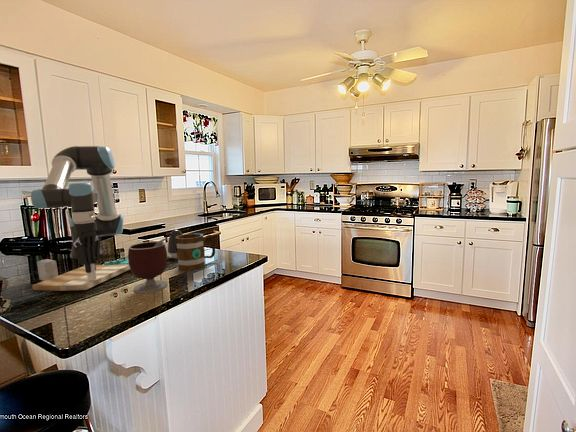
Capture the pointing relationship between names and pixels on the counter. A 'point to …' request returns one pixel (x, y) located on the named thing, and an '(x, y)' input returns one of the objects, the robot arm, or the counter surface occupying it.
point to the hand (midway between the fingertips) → (92, 279)
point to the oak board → (62, 279)
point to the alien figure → (117, 262)
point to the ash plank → (101, 276)
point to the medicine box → (47, 269)
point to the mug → (192, 251)
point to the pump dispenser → (173, 243)
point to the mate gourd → (148, 264)
